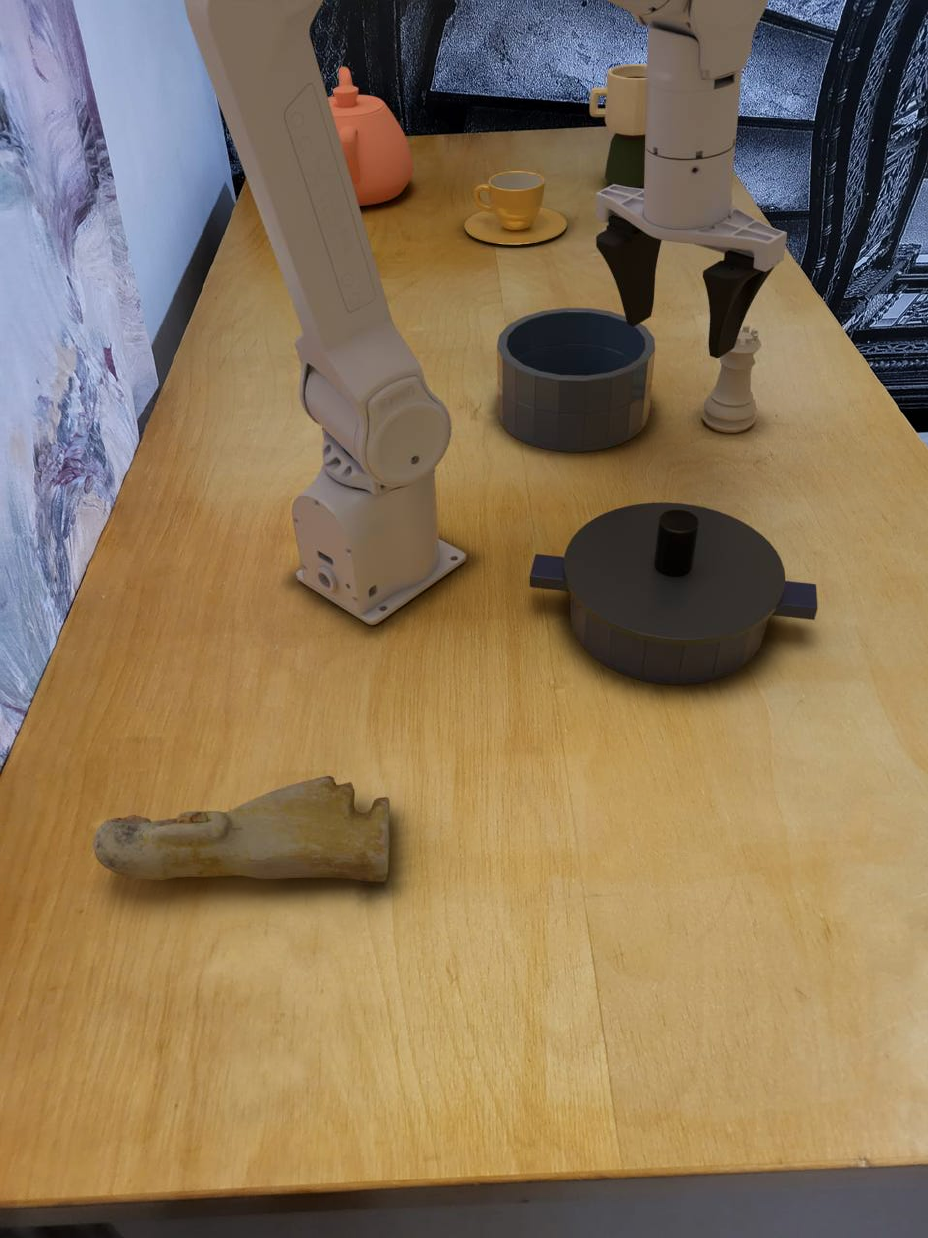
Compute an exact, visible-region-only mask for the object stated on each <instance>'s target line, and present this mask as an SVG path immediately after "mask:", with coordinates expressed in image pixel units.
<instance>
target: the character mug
mask: <svg viewBox="0 0 928 1238" xmlns="http://www.w3.org/2000/svg"><path fill="white" fill-rule="evenodd" d="M589 94H590V95H589V96H590V97H589V115H590V117H592V118H604V123H605V125H606V128H607V130H608V131H610V132H612V133H614V134H613V136H612V138H611V140H610V144H609V149H608V156H607V161H606V166H605V173H604V178H605V180H606V181H607V182H609V183H610V184H611V185H613V184H615V185H620V186H624V187H630V188H639V187H644V173H645V135H646V96H647V63H629V64H621V65H618V66H614V67H612V68H609V70H608V71H607V75H606V87H605V86H604V87H603V86H600V87H599V86H597V87H596V86H595V87H593V88H591V90H590V93H589ZM599 97H605V108H600V107H599Z"/></svg>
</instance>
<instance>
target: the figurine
mask: <svg viewBox="0 0 928 1238" xmlns="http://www.w3.org/2000/svg"><path fill="white" fill-rule="evenodd" d="M355 792H356V791H355V788H354V784H353V783H352V781H349V782H345V783H342V784H337V782H336V781H335V777H334V776H332V775H326V776H321V777H316V778H314V779H309V780H305V781H301V782H296V783H293V784H290V785H288V786H283V787H281V788H277V789H275V790H271V791H270V792H267V793H264V794H262V795H260V796H257V797H255V798H253V799H251V800H249V801H246V802H244V803H242V804H239V805H238V806H236V807H234V808H232V809H230V810H229V811H219V810H218V811H217V810H207V811H201V810H199V811H198V810H197V811H195V810H194V811H192V810H191V811H185V812H180V813H179V815H178V816H177V818H167V819H162V820H155V821H151V819H150V818H148V817H144V816H140V815H136V814H132V815H128V816H126V817H114V818H111V819H107V820H105V821H104V822H102V823H101V824H100V825H99V827H97V829H96V832H95V834H94V837H93V843H92V846H93V851H94V855H95V857H96V860H97V861H98V862H99V863H100V864H101V865H102V866H103V867H104V868H105V869H107V870H109V871H111V872H113V873H115V874H118V875H120V876H123V877H126V878H127V877H128V878H131V879H138V880H141V879H142V880H154V881H155V880H156V881H157V880H161V881H162V880H163V881H164V880H169V879H171V878H172V879H173V878H184V877H189V878H190V877H195V878H209V877H227V876H228V877H229V876H245V877H249V878H255V879H260V880H274V879H275V880H276V879H277V880H278V879H297V878H300V879H301V878H333V879H334V878H335V879H345V880H346V879H348V880H355V881H356V880H357V881H364V882H374V883H382V882H385V881H386V880H387V878H388V873H389V863H390V809H391V807H390V805H391V804H390V803H391V802H390V798H389V797H387V796H383V797H377V798H376V799H375V800H373V803H372V805H371V808H370V809H369V810H367V811H366V812H359V811H358V810H357V809H356V808H355V796H356V795H355Z"/></svg>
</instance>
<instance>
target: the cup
mask: <svg viewBox="0 0 928 1238" xmlns="http://www.w3.org/2000/svg"><path fill="white" fill-rule="evenodd" d="M545 185H546V179H545V177H544V176H543V175H541V174H539V173H537V172H533V171H527V170H526V171H525V170H511V171H510V170H509V171H504V172H500V173H496V174H494V175H492V176H491V177H489V178H488V180H487V183H482V184H479V185H477V186H476V187H475V189H474V191H473V196H472V197H473V201H474V203H475V205H476V207H477V208H478V209H480V210H481V211H478V212H476V213H474V214H472V215H470V217H468V218H467V219H466V220H465V222H464V230H465V231H466V232H467V234H469V236H471V237H473V238H475V239H478V240H480V241H483V242H487V243H493V244H501V245H526V244H533V243H539V242H542V241H543V242H544V241H548V240H550V239H552V238H555V237H557V236H559V235H560V234H562V233H563V232H564V231H565V230H566V229H567V226H568V221H567V219H566V218H565V217H564V216H563V215H562V214H560V213H559V212H557V211H555V210H552V209H549V208H545V207H542V203H543V199H544V193H545ZM481 192H486V193H488V194H489V199H490V204H489V203H486V202H484V201H483V200H482V198H481Z"/></svg>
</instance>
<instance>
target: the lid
mask: <svg viewBox="0 0 928 1238" xmlns="http://www.w3.org/2000/svg"><path fill="white" fill-rule="evenodd" d="M563 557H564V566H563V568H564V578H565V581H566V584H567V587H568V589H569V591H570V592H569V593H570V596H571V595H572V596H573V598H574V599H575V600H576V602H577V603H578V604H579V605H580V606H581V607H582V608H583V609H584V610H585V611H586V612H587V613H588V614H590V615H591V616H592V617H593V618H595V619H596V620H598V621H599V622H601V623H602V624H604V625H606V626H607V627H609V628H612V629H614V630H616V631H618V632H620V633H623V634H626V635H628V636H631V637H634V638H638V639H641V640H645V641H649V642H655V643H661V644H670V645H702V644H711V643H716V642H721V641H726V640H729V639H732V638H735V637H738V636H741V635H743V634H745V633H747V632H750V631H751V630H753V629H755V628H756V627H758V626H760V625H761V624H762V623H763V622H765V621H766V620H767V619H768V620H769V619H770V618H771V616H773V615H772V614H773V612H774V611H775V610H776V609H777V607H778V605H779V603H780V602H781V599H782V596H783V593H784V589H785V581H786V572H785V566H784V563H783V560H782V559H781V557H780V555H779V554H778V551H777V550H776V548H775V547H774V546H773V545H772V543H771V542H770V541H769V540H768V539H767V538H765V536H764V535H762V534H761V533H760V532H759V531H757V530H756V529H755V528H753V527H752V526H750V525H749V524H747V523H745V522H744V521H742V520H740V519H738V518H736V517H734V516H733V515H729V514H727V513H725V512H721V511H718V510H716V509H713V508H712V509H711V508H709V507H704V506H700V505H695V504H689V503H681V502H667V501H665V502H664V501H663V502H645V503H643V502H642V503H635V504H630V505H625V506H623V507H619V508H615V509H612V510H609V511H606V512H604V513H602V514H600V515H598V516H596V517H595V518H593V519H591V520H590V521H588V522H587V523H585V524H584V525H583V526H582V527H581V528H579V529H578V531H576V533H575V534H574V535H573V536H572V537H571V539H570V540H569V543H568V544H567V546H566V549H565V552H564V556H563ZM768 620H767V621H768Z"/></svg>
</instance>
